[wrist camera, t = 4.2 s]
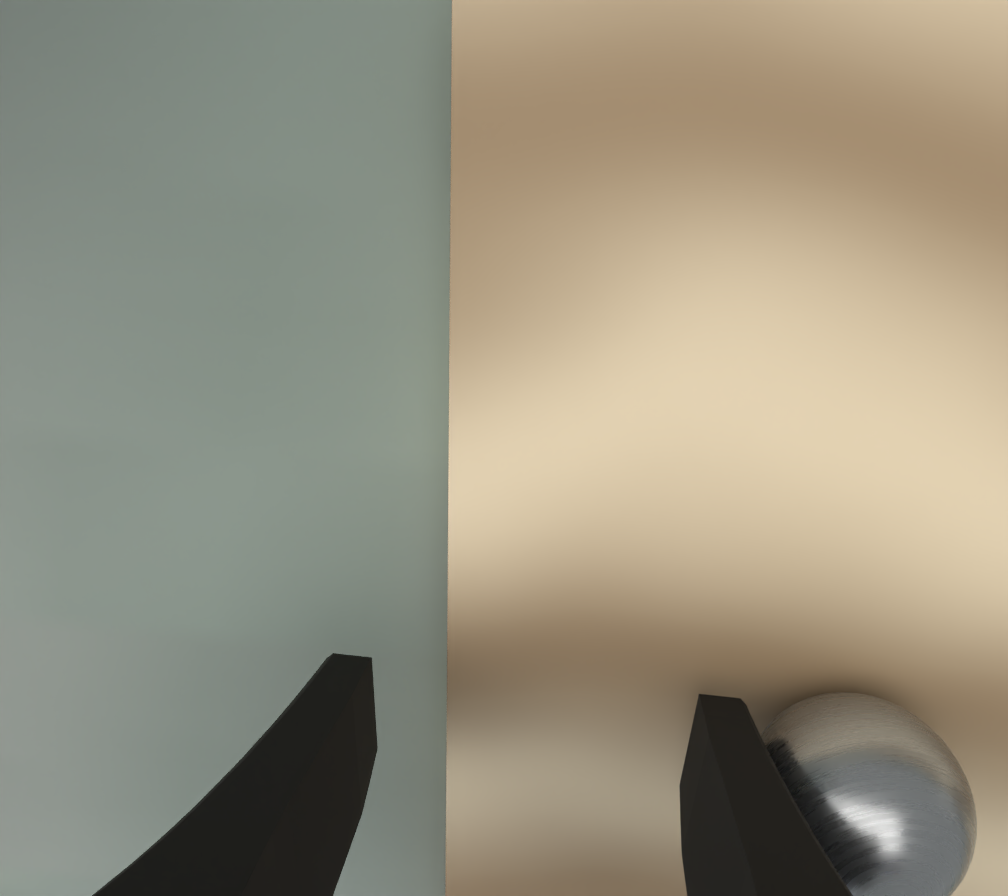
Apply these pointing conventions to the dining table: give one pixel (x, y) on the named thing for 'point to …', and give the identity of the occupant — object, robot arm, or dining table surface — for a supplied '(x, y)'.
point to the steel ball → (877, 793)
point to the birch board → (717, 406)
